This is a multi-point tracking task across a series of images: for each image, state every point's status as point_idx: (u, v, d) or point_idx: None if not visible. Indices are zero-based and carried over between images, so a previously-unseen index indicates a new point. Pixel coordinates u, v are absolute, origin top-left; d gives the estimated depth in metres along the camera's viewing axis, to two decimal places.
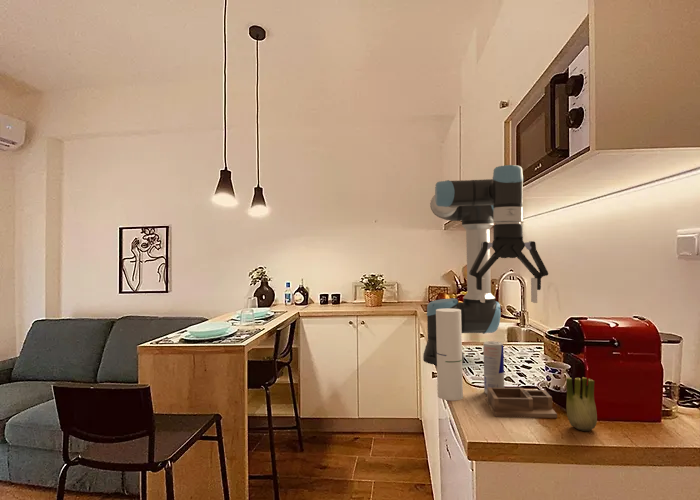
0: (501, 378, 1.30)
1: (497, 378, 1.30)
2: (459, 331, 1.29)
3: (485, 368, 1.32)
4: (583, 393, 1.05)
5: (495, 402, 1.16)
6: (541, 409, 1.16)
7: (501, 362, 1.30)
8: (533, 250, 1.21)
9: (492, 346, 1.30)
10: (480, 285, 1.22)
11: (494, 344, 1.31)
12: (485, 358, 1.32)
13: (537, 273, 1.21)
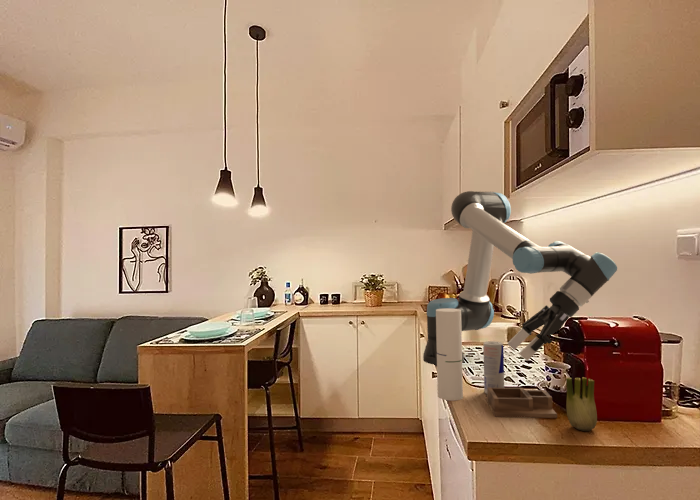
0: (501, 378, 1.30)
1: (497, 378, 1.30)
2: (459, 331, 1.29)
3: (485, 368, 1.32)
4: (583, 393, 1.05)
5: (495, 402, 1.16)
6: (541, 409, 1.16)
7: (501, 362, 1.30)
8: None
9: (492, 346, 1.30)
10: None
11: (494, 344, 1.31)
12: (485, 358, 1.32)
13: None
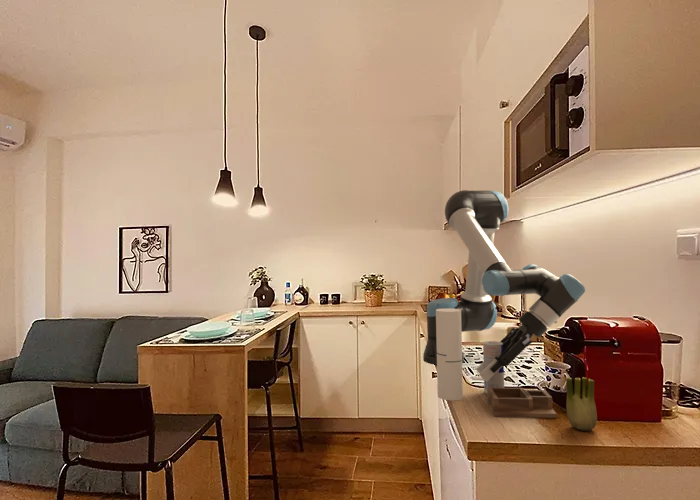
0: (501, 378, 1.30)
1: (497, 378, 1.30)
2: (459, 331, 1.29)
3: None
4: (583, 393, 1.05)
5: (495, 402, 1.16)
6: (541, 409, 1.16)
7: None
8: None
9: (492, 346, 1.30)
10: None
11: (494, 344, 1.31)
12: (485, 358, 1.32)
13: None
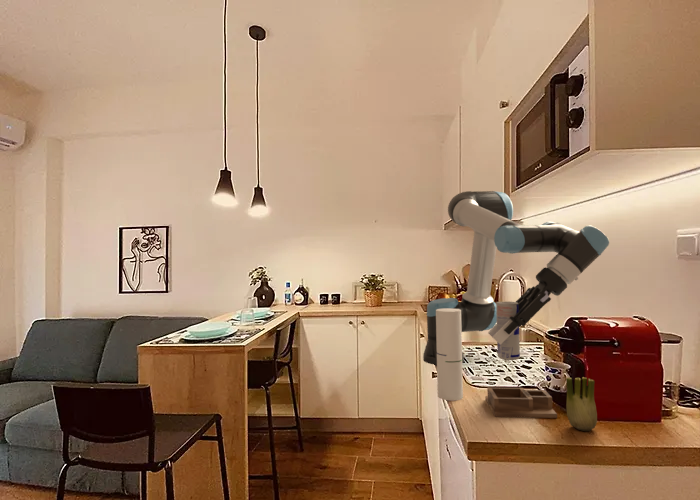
0: (516, 340, 1.18)
1: (512, 340, 1.18)
2: (459, 331, 1.29)
3: (498, 330, 1.20)
4: (583, 393, 1.05)
5: (495, 402, 1.16)
6: (541, 409, 1.16)
7: None
8: None
9: (506, 305, 1.18)
10: None
11: (508, 303, 1.19)
12: (498, 319, 1.20)
13: None
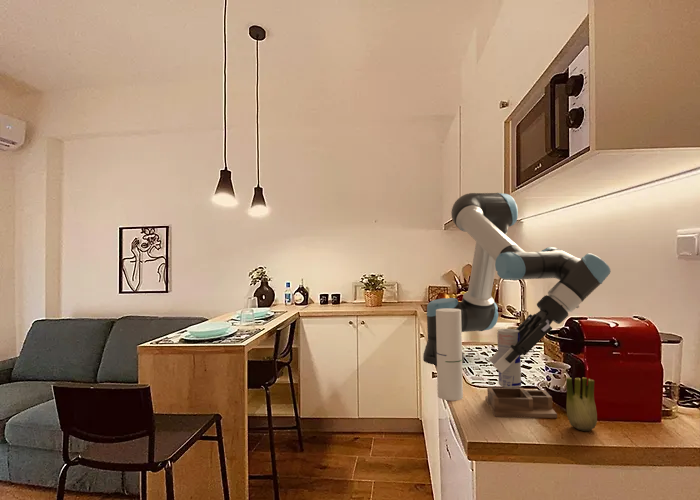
0: (517, 369, 1.18)
1: (514, 369, 1.17)
2: (459, 331, 1.29)
3: None
4: (583, 393, 1.05)
5: (495, 402, 1.16)
6: (541, 409, 1.16)
7: None
8: None
9: (507, 333, 1.18)
10: None
11: (509, 331, 1.19)
12: (500, 347, 1.19)
13: None
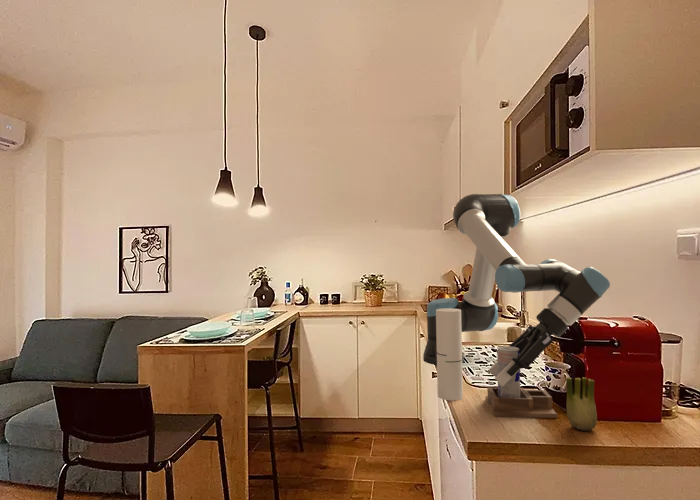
0: (517, 387, 1.18)
1: (514, 387, 1.18)
2: (459, 331, 1.29)
3: None
4: (583, 393, 1.05)
5: (495, 402, 1.16)
6: (541, 409, 1.16)
7: None
8: None
9: (508, 352, 1.18)
10: None
11: (509, 349, 1.19)
12: (500, 365, 1.20)
13: None
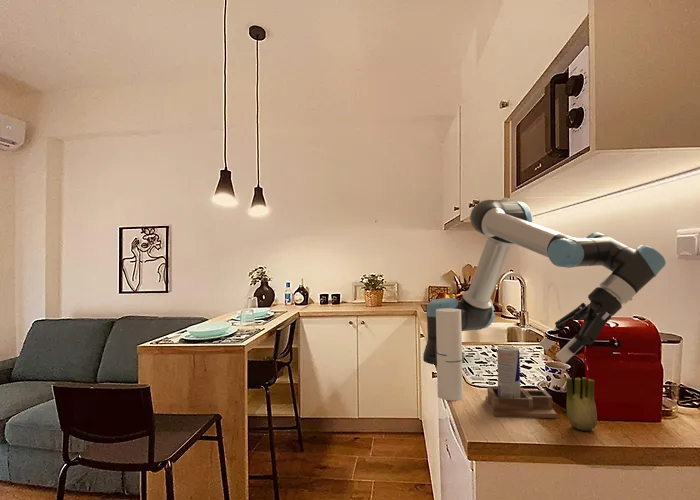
0: (517, 387, 1.18)
1: (514, 387, 1.18)
2: (459, 331, 1.29)
3: (500, 376, 1.20)
4: (583, 393, 1.05)
5: (495, 402, 1.16)
6: (541, 409, 1.16)
7: (517, 369, 1.19)
8: None
9: (508, 352, 1.18)
10: None
11: (510, 349, 1.19)
12: (500, 365, 1.20)
13: None
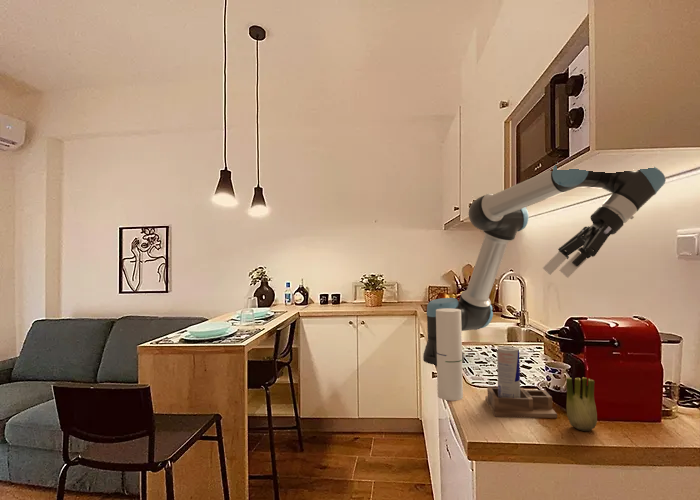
0: (517, 387, 1.18)
1: (514, 387, 1.18)
2: (459, 331, 1.29)
3: (499, 376, 1.20)
4: (583, 393, 1.05)
5: (495, 402, 1.16)
6: (541, 409, 1.16)
7: (517, 369, 1.19)
8: None
9: (508, 352, 1.18)
10: None
11: (509, 349, 1.19)
12: (500, 365, 1.20)
13: None
